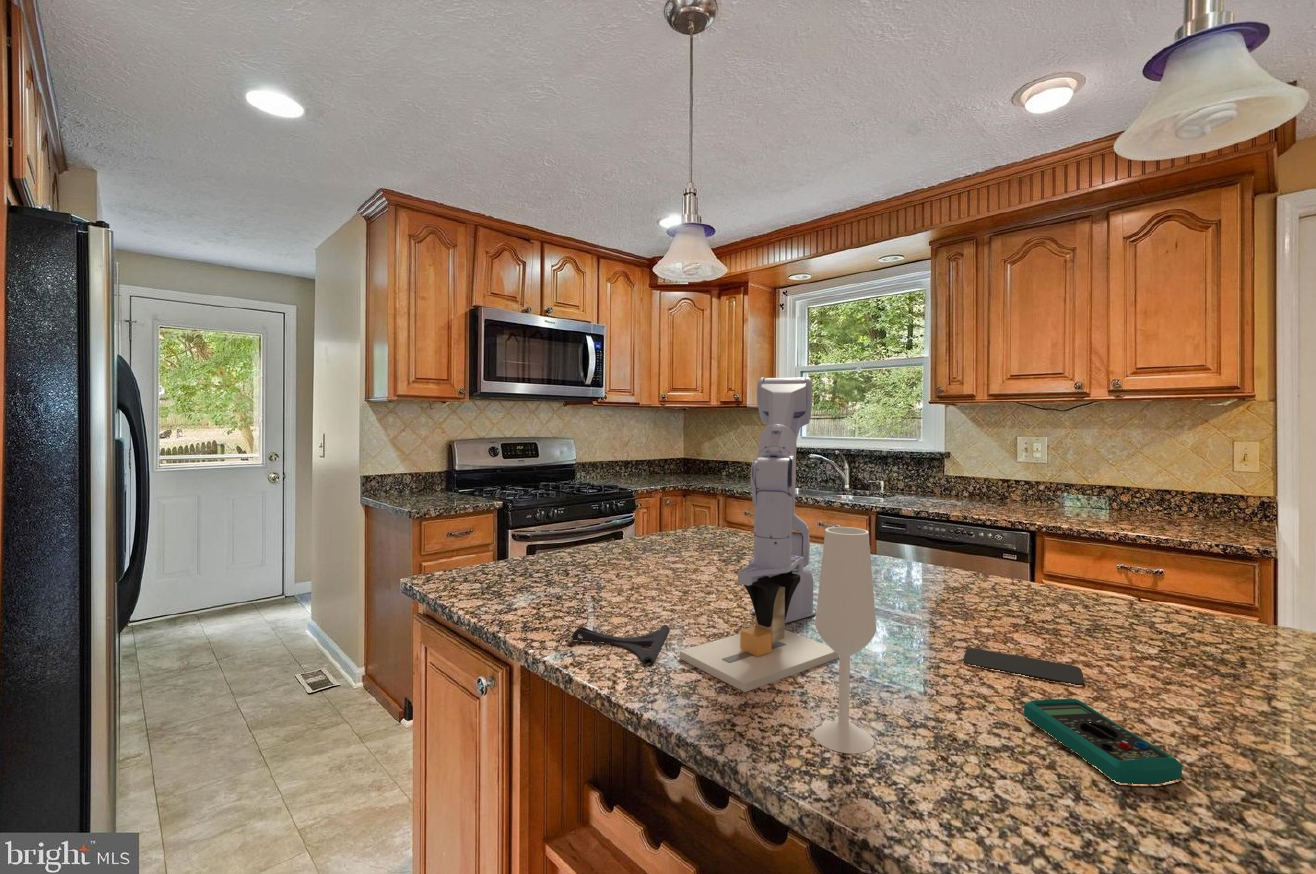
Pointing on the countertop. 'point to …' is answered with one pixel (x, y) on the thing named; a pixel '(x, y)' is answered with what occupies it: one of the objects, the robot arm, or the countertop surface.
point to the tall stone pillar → (777, 617)
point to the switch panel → (757, 660)
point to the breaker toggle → (755, 641)
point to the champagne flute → (845, 624)
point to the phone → (1024, 666)
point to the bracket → (630, 641)
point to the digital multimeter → (1103, 742)
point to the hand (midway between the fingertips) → (771, 622)
